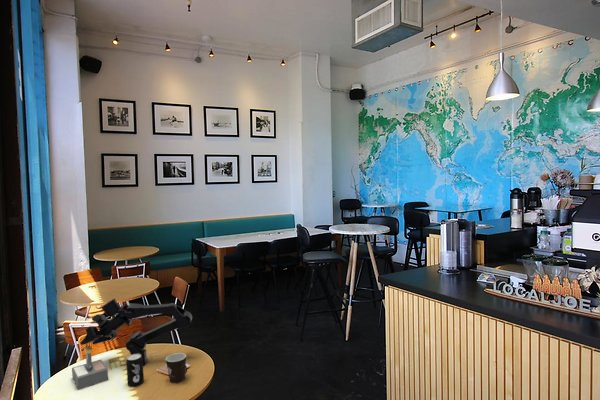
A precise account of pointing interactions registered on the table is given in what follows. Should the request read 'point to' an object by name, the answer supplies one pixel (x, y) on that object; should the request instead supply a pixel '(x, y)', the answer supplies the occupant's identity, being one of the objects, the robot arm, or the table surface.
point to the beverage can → (135, 370)
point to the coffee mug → (176, 367)
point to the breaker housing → (89, 374)
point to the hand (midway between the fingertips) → (86, 344)
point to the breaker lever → (88, 357)
